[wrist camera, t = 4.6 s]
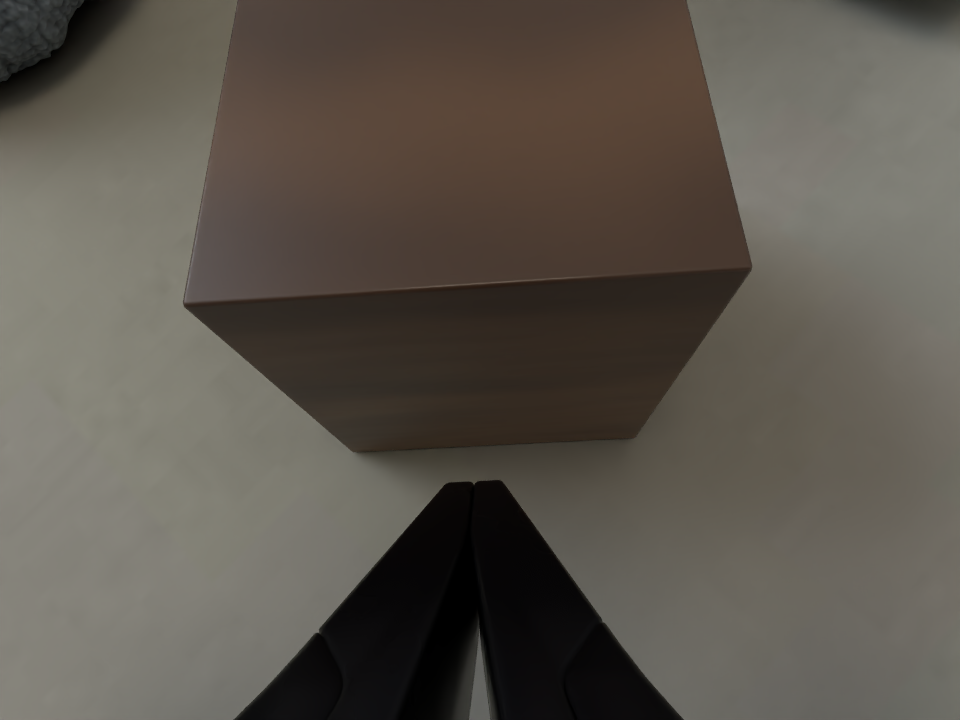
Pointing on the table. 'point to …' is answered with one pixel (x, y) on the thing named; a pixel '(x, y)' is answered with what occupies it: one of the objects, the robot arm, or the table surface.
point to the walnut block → (466, 215)
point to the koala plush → (31, 31)
